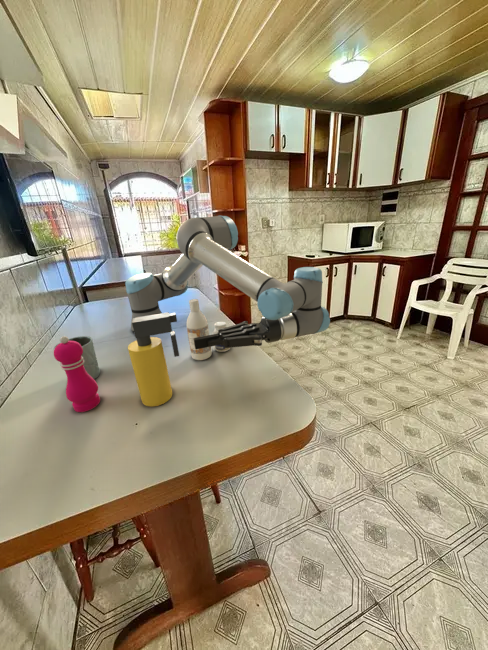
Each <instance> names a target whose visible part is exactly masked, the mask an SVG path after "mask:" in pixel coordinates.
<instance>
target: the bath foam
mask: <svg viewBox="0 0 488 650" xmlns="http://www.w3.org/2000/svg"><path fill="white" fill-rule="evenodd" d="M188 303H189V310H190V311H189V314H188V316H187V317H186V318H187V319H186V330H187V331H186V332H187V338H188V343H189V350H190V355H191V358H192V359H193V360H195V361H204V360H208V359H209V358H210V357H211V356H212V354H213V352H212V346H211V347H206V348H201V349H195V345H194V338H197V337H202V336H207V335H210V330H209V329H210V327H209V322H208V320H207V318H206V316H205V314H204V313H203V312H202V311H201V310H200V302H199V299H197V298H193V299H190V300H188Z"/></svg>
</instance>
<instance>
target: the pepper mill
mask: <svg viewBox="0 0 488 650" xmlns="http://www.w3.org/2000/svg"><path fill="white" fill-rule="evenodd" d="M69 339H70V338H69V337H68V336H65V335H63V336H61V337H60V338H59V343H60V342H61V343H60V344H59V343H57V344H58V345H57V344H56V345H57V346H56V345H55V346H56V347H55V346H54V347H55V349H54V348H53V357H54V359H55V360H56V361H57V362H58V363H59V365H60V367H61V370H63V371H64V370H65V371H64V373H65V376H66V379H67V381H66V382H67V383H66V387H65V395H66V399H67V400H68V401H69V402H71V403H72V404H71V405H72V409H73V410H74V412H77V413H85V412H88V411H91V410H93V409H95V408H96V407H97V406H98V405H99V404H100V402H101V397H100V395H99V393H98V391H99V385H98V382H97V381H96V379H93V378H92V377H91V376H90V375H89V374H88V373H87V372H86V370H85V368H84V365H83V364H84V360H83V357H82V356H81V355H82V353H83V348H82V346H81V345H80V344H79V343H78V342H76V341H69ZM60 362H61V363H60Z"/></svg>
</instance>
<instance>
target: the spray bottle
mask: <svg viewBox="0 0 488 650" xmlns="http://www.w3.org/2000/svg"><path fill="white" fill-rule="evenodd" d="M131 320H132V319H131ZM177 322H178V318H177V314H176V312H171V313H169V312H168V311H167V312H162V313H161V314H155V315H148V316H142V317H136V318H133V320H132V326H133V330H134V332H133V333H134V334H133V335H134V337H135V339H136V340H134V341H132V342H130V343H129V344H128V345H127V350H128V354H129V355H128V356H129V358H130V362H131V366H132V369H133V373H134V376H135V381H136V384H137V388H138V392H139V397H140V400H141V403H142V404H143V406H146V407H158V406H161V405H164V404H165V403H167V402H168V401H169V400H171V398H172V397H173V389H172V384H171V380H170V379H171V378H170V375H169V370H168V365H167V360H166V355H165V351H164V346H163V342H162V339H161V338H160V337H156V335H162V334H167V333H168V334H170V332H172V331H173V328H172V323H177Z"/></svg>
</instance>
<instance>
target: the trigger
mask: <svg viewBox="0 0 488 650" xmlns="http://www.w3.org/2000/svg"><path fill="white" fill-rule="evenodd" d="M169 334H170V341H171V345H172V346H171V347H172V351H173V357H175V358H176V357H180V352H179V347H178V341H177V336H176V331H175V330H172V332H169Z"/></svg>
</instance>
